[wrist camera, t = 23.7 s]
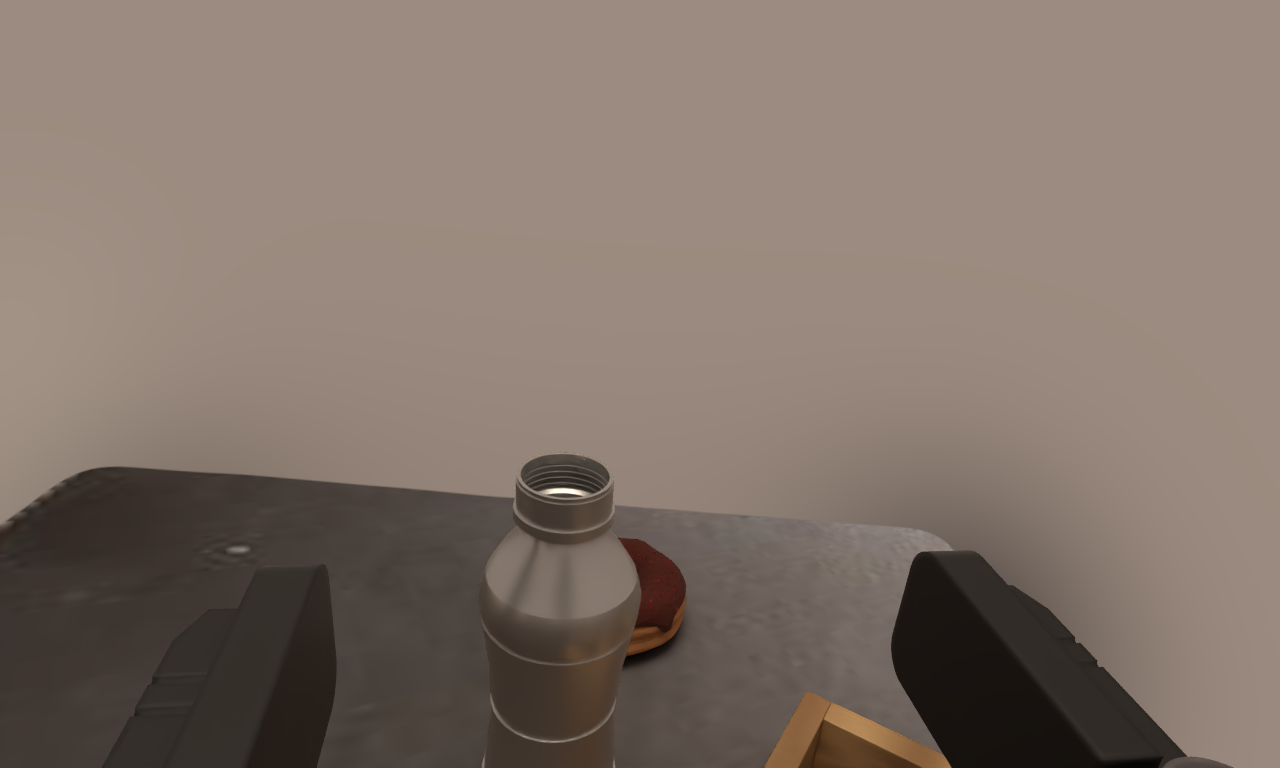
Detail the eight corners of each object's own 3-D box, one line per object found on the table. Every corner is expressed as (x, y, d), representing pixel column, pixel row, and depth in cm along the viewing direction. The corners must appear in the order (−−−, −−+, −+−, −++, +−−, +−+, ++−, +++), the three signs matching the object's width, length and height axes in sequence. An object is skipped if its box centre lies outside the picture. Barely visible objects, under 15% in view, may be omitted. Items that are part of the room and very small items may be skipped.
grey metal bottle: (498, 765, 40) (503, 425, 33) (625, 789, 40) (662, 448, 32) (453, 886, 35) (447, 506, 27) (602, 916, 34) (640, 535, 26)
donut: (578, 554, 58) (581, 508, 56) (703, 594, 55) (709, 547, 53) (508, 637, 49) (509, 587, 48) (651, 691, 46) (657, 638, 45)
